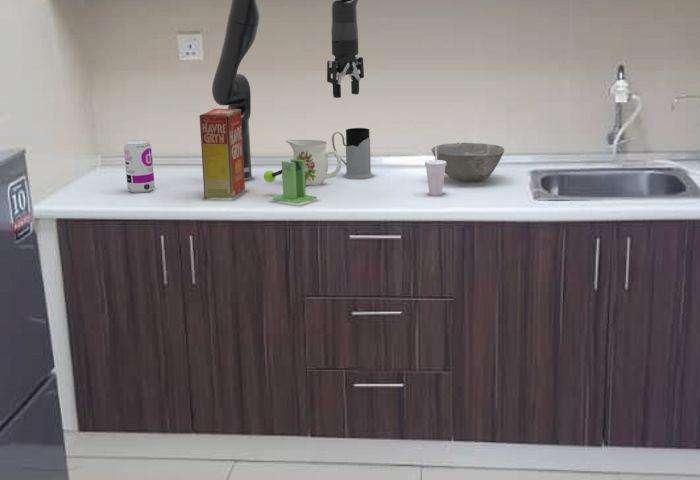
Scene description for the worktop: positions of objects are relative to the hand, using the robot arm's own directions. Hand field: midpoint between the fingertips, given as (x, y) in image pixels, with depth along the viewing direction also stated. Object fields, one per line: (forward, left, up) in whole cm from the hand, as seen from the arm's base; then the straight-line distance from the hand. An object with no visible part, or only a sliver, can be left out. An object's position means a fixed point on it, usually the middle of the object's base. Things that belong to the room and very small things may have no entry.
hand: (346, 95), depth 283 cm
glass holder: (-17, +24, -30) cm, 42 cm away
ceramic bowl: (+19, +37, -30) cm, 51 cm away
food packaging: (-32, -19, -30) cm, 48 cm away
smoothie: (+21, +15, -30) cm, 39 cm away
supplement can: (-59, -28, -30) cm, 72 cm away
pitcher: (-18, +6, -30) cm, 35 cm away
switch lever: (-13, -14, -23) cm, 30 cm away
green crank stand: (-9, -14, -29) cm, 34 cm away
